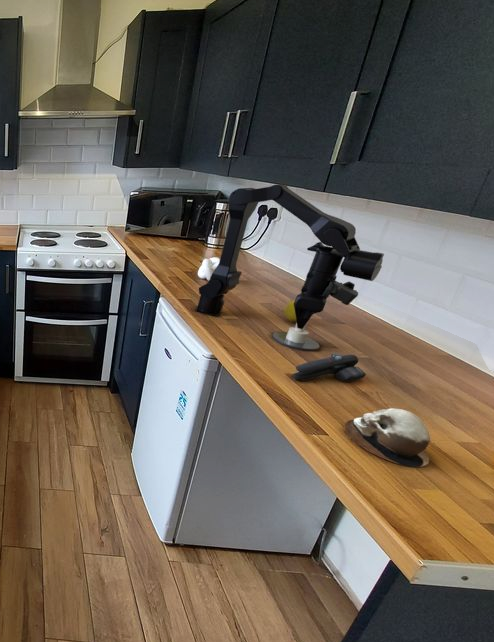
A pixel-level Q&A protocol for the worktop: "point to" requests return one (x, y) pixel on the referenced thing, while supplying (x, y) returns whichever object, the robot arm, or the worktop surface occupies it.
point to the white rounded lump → (208, 267)
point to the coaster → (307, 346)
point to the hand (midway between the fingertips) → (302, 323)
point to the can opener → (331, 368)
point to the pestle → (297, 334)
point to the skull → (392, 436)
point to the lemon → (290, 311)
